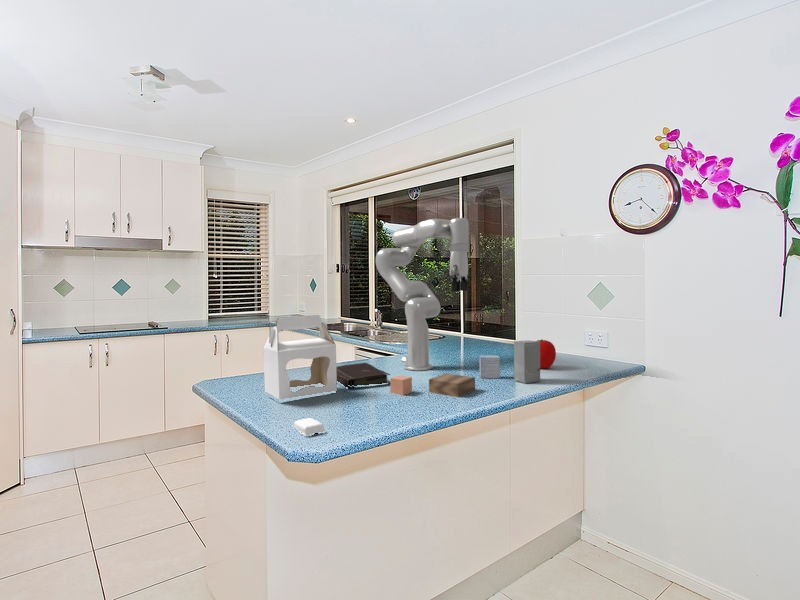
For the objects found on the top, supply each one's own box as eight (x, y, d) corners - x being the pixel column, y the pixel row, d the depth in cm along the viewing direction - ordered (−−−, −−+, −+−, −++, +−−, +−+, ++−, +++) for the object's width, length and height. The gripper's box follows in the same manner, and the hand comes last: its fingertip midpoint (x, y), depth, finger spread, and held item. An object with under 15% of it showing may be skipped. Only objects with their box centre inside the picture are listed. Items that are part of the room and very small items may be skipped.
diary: (346, 392, 177) (346, 378, 177) (326, 379, 200) (325, 367, 199) (392, 385, 185) (392, 372, 185) (367, 373, 208) (367, 362, 208)
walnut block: (429, 393, 172) (429, 379, 172) (446, 386, 182) (446, 373, 182) (458, 398, 165) (458, 383, 165) (475, 391, 175) (475, 377, 174)
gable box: (320, 386, 183) (319, 313, 182) (337, 393, 173) (336, 315, 171) (264, 396, 170) (261, 317, 169) (278, 404, 159) (276, 319, 158)
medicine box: (498, 376, 197) (498, 355, 197) (500, 378, 193) (500, 357, 192) (479, 376, 198) (479, 355, 197) (480, 378, 193) (480, 357, 193)
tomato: (559, 370, 207) (559, 341, 206) (533, 370, 207) (533, 341, 206) (551, 365, 218) (551, 337, 218) (527, 365, 218) (527, 337, 218)
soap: (290, 430, 133) (290, 420, 133) (313, 425, 137) (312, 415, 137) (304, 439, 126) (303, 428, 126) (327, 433, 130) (327, 423, 130)
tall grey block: (525, 384, 183) (525, 342, 182) (512, 380, 189) (512, 340, 188) (541, 381, 187) (541, 341, 186) (528, 378, 193) (528, 338, 192)
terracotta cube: (390, 393, 172) (390, 378, 171) (399, 390, 176) (399, 375, 176) (402, 395, 168) (402, 380, 168) (411, 392, 173) (411, 377, 172)
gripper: (457, 250, 205) (458, 290, 206) (443, 248, 190) (443, 291, 191) (474, 249, 202) (475, 290, 203) (461, 247, 187) (461, 291, 187)
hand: (459, 290), depth 197 cm, fingers open, 9 cm apart
